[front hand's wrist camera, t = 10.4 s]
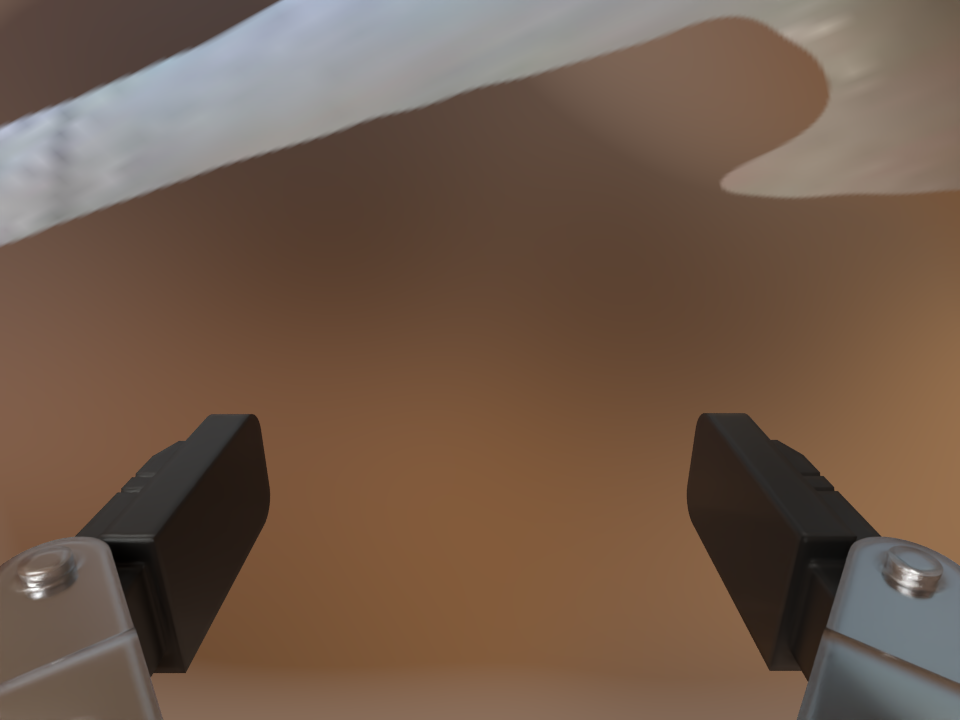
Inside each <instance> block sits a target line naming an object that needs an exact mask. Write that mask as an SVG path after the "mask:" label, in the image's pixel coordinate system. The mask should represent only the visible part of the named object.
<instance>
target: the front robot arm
mask: <svg viewBox="0 0 960 720" xmlns="http://www.w3.org/2000/svg"><path fill="white" fill-rule="evenodd" d="M687 504H688V511H689V515H690V518H691V521H692V523H693V525H694V527H695V529H696V531H697V533H698V535H699V537H700V539H701V541H702V543H703V544H704V546H705V548H706V550H707V552H708V554H709V556H710V558H711V560H712V562H713V564H714V565H715V567H716V569H717V571H718V573H719V575H720V577H721V579H722V581H723V583H724V585H725V586H726V588H727V590H728V592H729V594H730V596H731V598H732V600H733V602H734V604H735V606H736V607H737V609H738V611H739V613H740V615H741V617H742V619H743V621H744V623H745V625H746V627H747V628H748V630H749V632H750V634H751V636H752V638H753V640H754V642H755V644H756V646H757V648H758V649H759V651H760V653H761V655H762V657H763V659H764V661H765V663H766V665H767V667H768V669H769V670H770V671H802V672H803V674H804V675H805V677H806V679H807V681H808V685H807V688H806V691H805V695H804V698H803V701H802V704H801V708H800V711H799V714H798V717H797V720H960V566H959V565H958V564H956V563H955V562H953V561H952V560H950V559H949V558H947V557H945V556H944V555H942V554H940V553H938V552H936V551H934V550H932V549H929V548H927V547H925V546H922V545H919V544H916V543H913V542H910V541H906V540H902V539H897V538H890V537H881V536H880V535H879V534H878V533H877V531H876V530H875V529H874V528H873V527H872V526H871V525H870V524H869V523H868V522H867V521H866V520H865V519H864V518H863V517H862V516H861V515H860V514H859V513H858V512H857V511H856V510H855V509H854V507H853V506H852V505H851V504H850V503H849V502H848V501H847V500H846V499H845V498H844V497H843V496H842V495H841V494H840V493H839V492H838V491H834V487H833V486H832V485H831V484H830V482H829V481H828V480H827V479H826V478H825V477H824V476H820V472H819V471H818V470H817V469H816V468H815V467H814V466H813V465H812V464H811V463H810V462H809V461H808V460H807V458H805V456H804V455H802V454H801V453H799V452H797V451H795V450H794V449H792V448H790V447H788V446H787V445H785V444H783V443H781V442H780V441H778V440H770V439H769V438H768V437H767V436H766V434H765V433H764V432H763V431H762V430H761V429H760V428H759V427H758V426H757V424H756V423H755V422H754V421H753V420H752V419H751V418H750V417H749V416H748V415H747V414H745V413H703V414H701V416H700V417H699V419H698V421H697V425H696V431H695V437H694V444H693V451H692V458H691V465H690V471H689V478H688V485H687ZM269 505H270V488H269V481H268V474H267V467H266V461H265V454H264V447H263V440H262V434H261V428H260V423H259V421H258V418H257V417H256V416H255V415H253V414H211V415H209V416H208V417H207V418H206V419H205V420H204V421H203V422H202V423H201V425H200V426H199V427H198V428H197V429H196V430H195V431H194V432H193V433H192V434H191V436H190V437H189V438H188V439H187V440H186V441H178V442H177V443H175V444H173V445H171V446H170V447H168V448H166V449H164V450H163V451H161V452H159V453H157V454H156V455H154V456H152V458H151V459H150V460H149V461H148V462H147V463H146V464H145V465H144V466H143V467H142V468H141V469H140V470H139V471H138V472H137V473H136V477H132V478H131V479H130V480H129V481H128V482H127V483H126V485H124V486H123V487H122V489H121V493H117V494H116V495H115V496H114V497H113V498H112V499H111V500H110V501H109V502H108V503H107V504H106V505H105V506H104V507H103V508H102V509H101V510H100V511H99V512H98V513H97V514H96V515H95V516H94V518H92V519H91V521H90V522H89V523H88V524H87V525H86V526H85V527H84V528H83V529H82V530H81V531H80V532H79V533H78V534H77V535H76V536H75V537H70V538H63V539H59V540H54V541H50V542H47V543H44V544H41V545H38V546H35V547H33V548H31V549H28V550H26V551H24V552H22V553H20V554H18V555H16V556H15V557H13V558H11V559H10V560H8V561H7V562H5V563H4V564H2V565H1V566H0V720H163V717H162V714H161V711H160V708H159V704H158V701H157V698H156V694H155V691H154V688H153V684H152V681H151V676H152V674H153V673H186V671H187V669H188V667H189V666H190V664H191V662H192V660H193V658H194V656H195V654H196V652H197V651H198V649H199V647H200V645H201V643H202V641H203V639H204V637H205V635H206V634H207V632H208V630H209V628H210V626H211V624H212V622H213V620H214V618H215V617H216V615H217V613H218V611H219V609H220V607H221V605H222V603H223V602H224V600H225V598H226V596H227V594H228V592H229V590H230V588H231V586H232V584H233V583H234V581H235V579H236V577H237V575H238V573H239V571H240V569H241V568H242V566H243V564H244V562H245V560H246V558H247V556H248V554H249V552H250V550H251V549H252V547H253V545H254V543H255V541H256V539H257V537H258V535H259V534H260V532H261V530H262V528H263V526H264V524H265V522H266V519H267V516H268V511H269Z"/></svg>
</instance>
